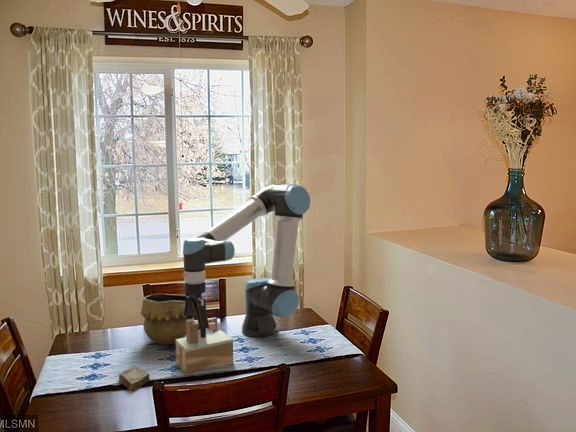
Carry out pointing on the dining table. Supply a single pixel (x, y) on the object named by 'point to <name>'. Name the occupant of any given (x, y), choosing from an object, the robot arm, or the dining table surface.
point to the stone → (133, 378)
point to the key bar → (211, 325)
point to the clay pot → (164, 317)
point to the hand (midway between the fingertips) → (196, 340)
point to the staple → (214, 322)
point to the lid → (192, 338)
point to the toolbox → (204, 357)
